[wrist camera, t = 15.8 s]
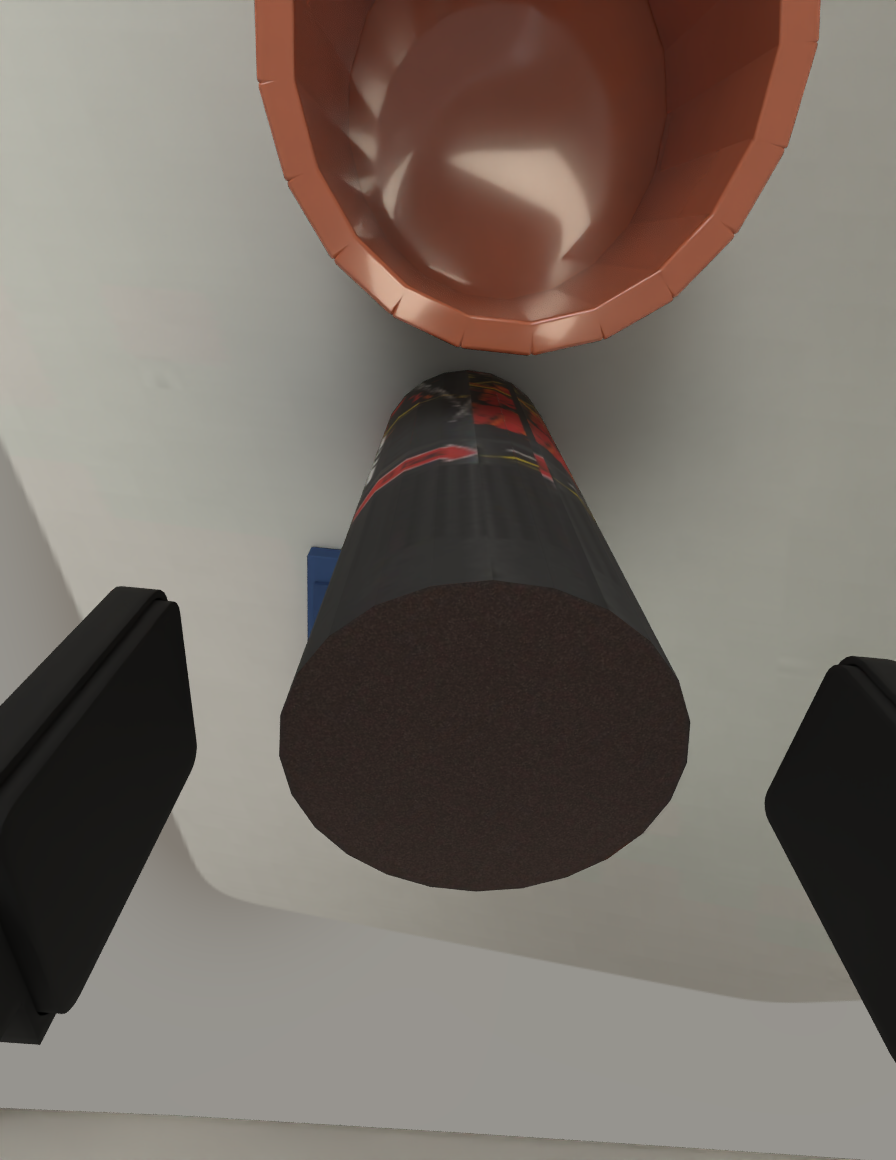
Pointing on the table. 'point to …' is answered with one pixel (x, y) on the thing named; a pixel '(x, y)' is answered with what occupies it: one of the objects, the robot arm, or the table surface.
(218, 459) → the table surface
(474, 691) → the deodorant
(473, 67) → the pot
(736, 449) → the table surface
